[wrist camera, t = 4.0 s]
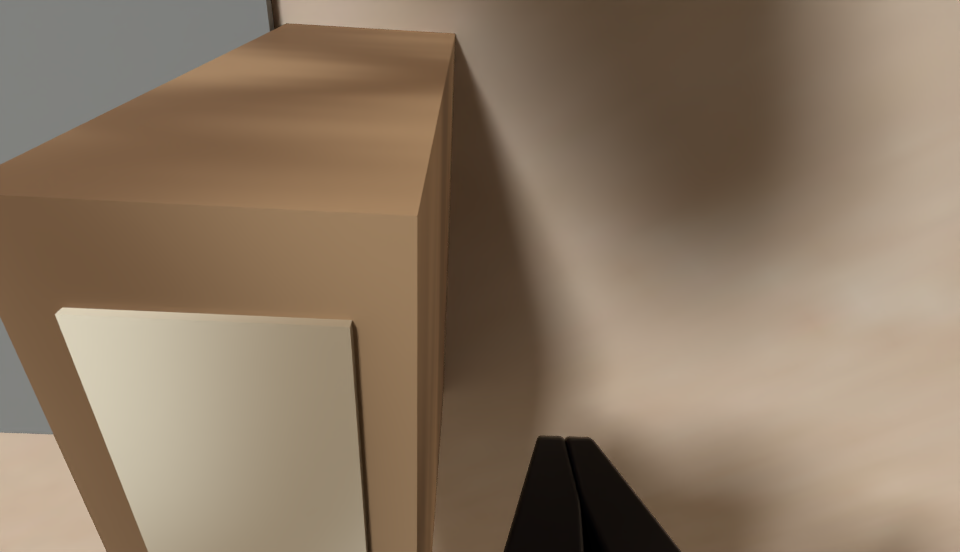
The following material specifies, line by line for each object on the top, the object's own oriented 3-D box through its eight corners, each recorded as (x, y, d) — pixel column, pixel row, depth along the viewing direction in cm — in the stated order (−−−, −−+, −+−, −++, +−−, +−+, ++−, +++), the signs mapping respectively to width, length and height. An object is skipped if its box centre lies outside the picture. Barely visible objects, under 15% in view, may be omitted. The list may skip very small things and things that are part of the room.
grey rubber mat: (260, -91, 11) (254, -92, 11) (322, 436, 18) (319, 444, 18) (-293, -129, 11) (-312, -130, 10) (-5, 424, 18) (-12, 431, 17)
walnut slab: (455, 33, 12) (416, 220, 4) (443, 391, 17) (415, 773, 9) (287, 23, 12) (-67, 197, 4) (326, 386, 17) (199, 769, 9)
